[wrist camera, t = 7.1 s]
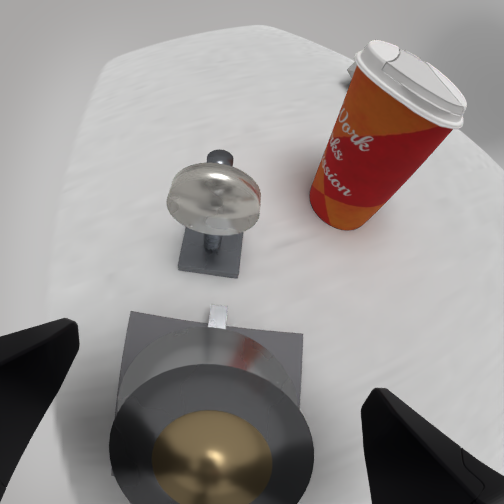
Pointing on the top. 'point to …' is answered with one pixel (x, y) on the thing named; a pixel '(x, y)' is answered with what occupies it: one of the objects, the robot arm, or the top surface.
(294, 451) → the cylinder with brass cap
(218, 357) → the platter
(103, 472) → the top surface
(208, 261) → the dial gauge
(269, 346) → the turntable base
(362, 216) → the paper cup
